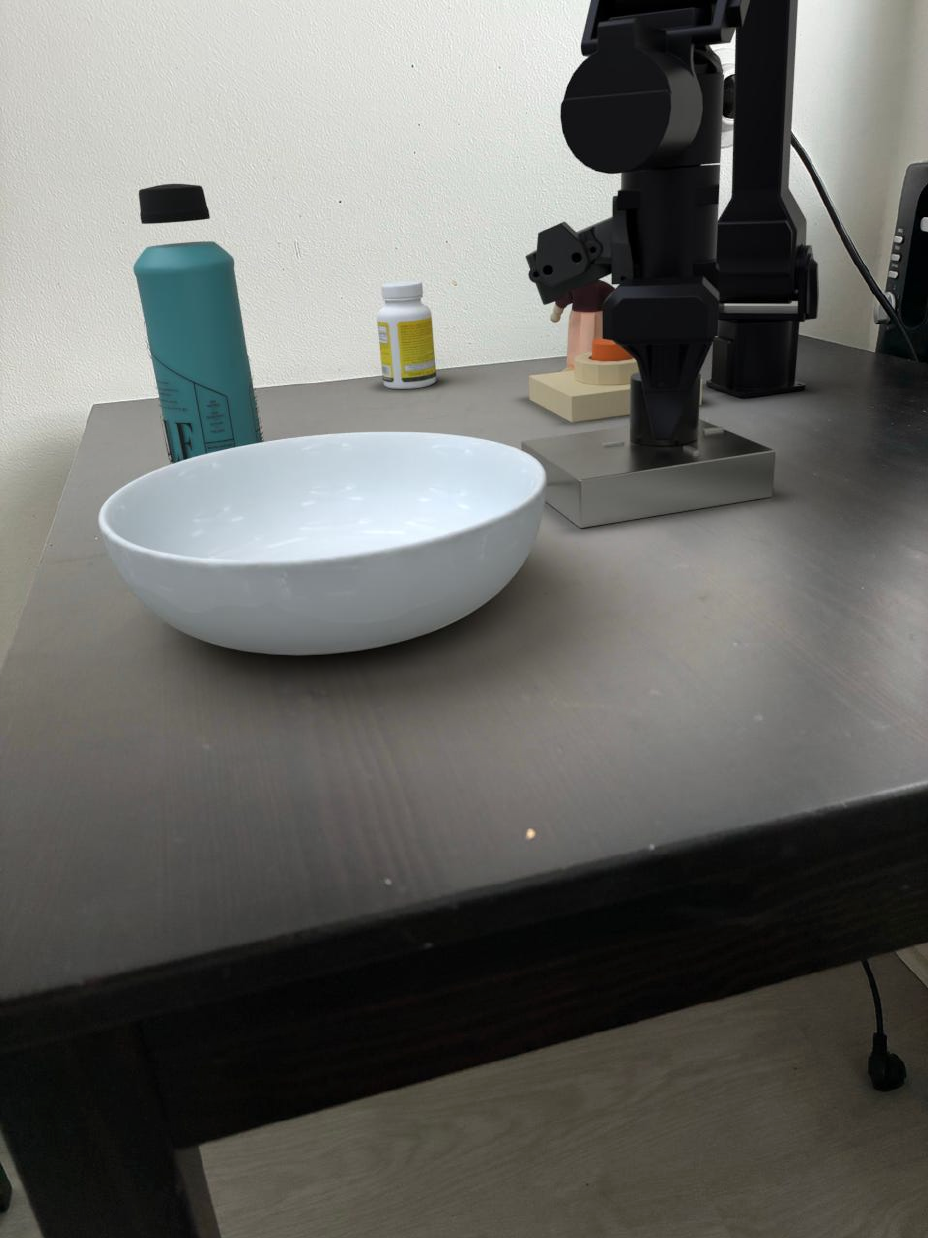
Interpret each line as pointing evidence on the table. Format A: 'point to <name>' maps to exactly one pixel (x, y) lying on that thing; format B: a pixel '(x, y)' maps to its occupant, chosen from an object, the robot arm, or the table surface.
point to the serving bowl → (326, 538)
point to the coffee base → (587, 389)
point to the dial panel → (649, 473)
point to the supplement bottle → (406, 337)
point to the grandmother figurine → (582, 317)
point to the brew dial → (641, 424)
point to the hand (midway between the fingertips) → (663, 429)
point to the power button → (608, 351)
